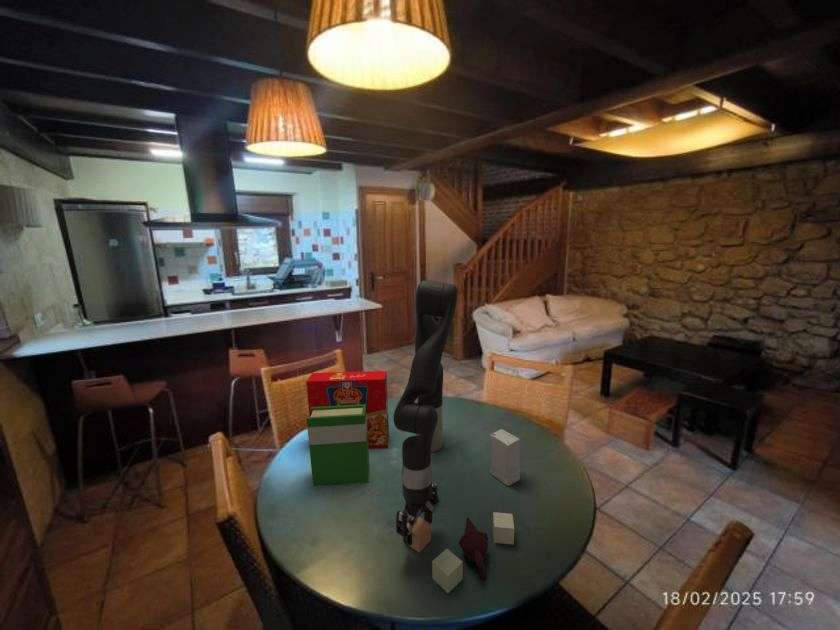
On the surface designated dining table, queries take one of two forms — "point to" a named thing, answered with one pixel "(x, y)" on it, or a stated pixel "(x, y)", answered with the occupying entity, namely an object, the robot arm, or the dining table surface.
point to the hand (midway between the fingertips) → (418, 532)
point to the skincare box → (505, 457)
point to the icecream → (475, 546)
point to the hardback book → (338, 445)
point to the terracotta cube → (420, 534)
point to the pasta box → (355, 398)
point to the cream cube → (503, 528)
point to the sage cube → (447, 570)
